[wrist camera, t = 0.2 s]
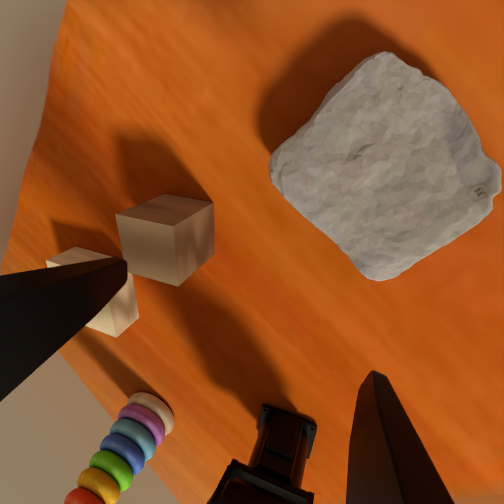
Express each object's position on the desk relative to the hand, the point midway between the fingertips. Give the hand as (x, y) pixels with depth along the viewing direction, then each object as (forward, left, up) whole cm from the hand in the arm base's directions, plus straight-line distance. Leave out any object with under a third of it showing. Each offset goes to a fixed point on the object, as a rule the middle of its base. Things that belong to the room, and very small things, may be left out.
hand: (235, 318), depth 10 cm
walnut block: (-4, +11, -14) cm, 18 cm away
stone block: (+3, -4, -15) cm, 16 cm away
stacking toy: (-36, +19, -14) cm, 43 cm away
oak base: (-14, +23, -14) cm, 30 cm away
